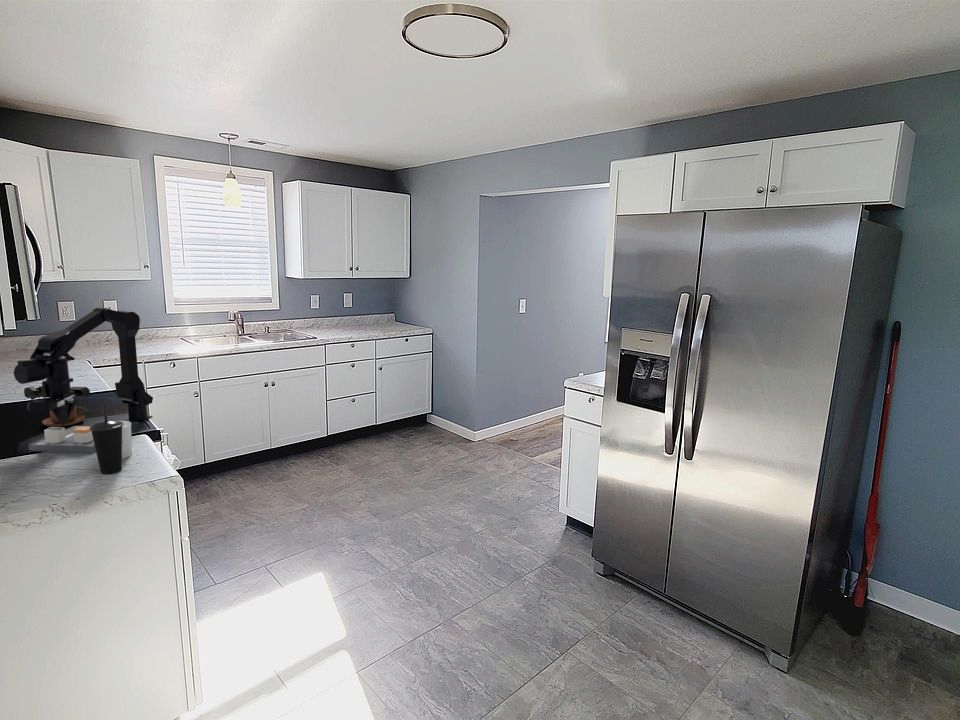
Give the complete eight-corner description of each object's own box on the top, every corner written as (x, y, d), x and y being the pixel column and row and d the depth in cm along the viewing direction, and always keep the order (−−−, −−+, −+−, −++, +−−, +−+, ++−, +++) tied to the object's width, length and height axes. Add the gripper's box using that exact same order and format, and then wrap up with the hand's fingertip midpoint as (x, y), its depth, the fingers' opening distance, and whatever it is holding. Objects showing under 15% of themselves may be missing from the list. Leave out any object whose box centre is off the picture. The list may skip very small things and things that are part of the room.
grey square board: (74, 431, 181) (74, 425, 181) (129, 433, 182) (128, 427, 181) (32, 451, 164) (31, 444, 163) (92, 452, 164) (91, 446, 164)
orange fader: (81, 439, 169) (79, 426, 168) (94, 439, 169) (93, 427, 168) (74, 442, 166) (72, 429, 165) (87, 442, 166) (86, 430, 165)
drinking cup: (91, 478, 147) (83, 408, 143) (98, 467, 154) (91, 400, 150) (124, 474, 150) (117, 405, 146) (129, 464, 157) (123, 398, 153)
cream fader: (52, 439, 168) (51, 426, 167) (66, 439, 168) (64, 426, 167) (45, 442, 165) (43, 429, 164) (59, 443, 165) (57, 429, 164)
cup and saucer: (70, 417, 196) (68, 400, 195) (93, 421, 192) (92, 405, 191) (34, 426, 185) (32, 409, 184) (58, 431, 181) (56, 414, 180)
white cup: (139, 451, 166) (136, 420, 164) (123, 461, 159) (120, 429, 157) (113, 451, 166) (110, 420, 164) (96, 460, 158) (92, 428, 156)
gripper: (53, 369, 175) (59, 415, 178) (5, 383, 157) (12, 434, 160) (88, 370, 175) (93, 416, 178) (44, 384, 157) (51, 435, 160)
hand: (63, 424), depth 169 cm, fingers closed
